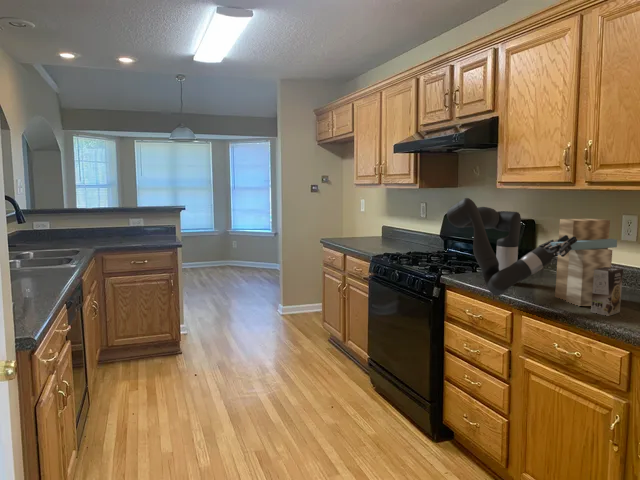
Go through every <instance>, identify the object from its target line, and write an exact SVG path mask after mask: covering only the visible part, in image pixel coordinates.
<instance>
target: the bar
mask: <svg viewBox="0 0 640 480" xmlns="http://www.w3.org/2000/svg"><path fill="white" fill-rule="evenodd" d="M564 242H565V241H564ZM558 243H563V242H551V246H554V245H557V244H558ZM563 246H564V245H563ZM558 247H559V246H558ZM617 247H618V239H616V238H609V239H597V240H581V241H577V242H575V243H574V244H572V245H571V248H572V249H571V250H583V249H599V248H608V249H611V248H617ZM559 248H560V247H559Z"/></svg>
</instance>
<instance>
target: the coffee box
mask: <svg viewBox="0 0 640 480" xmlns="http://www.w3.org/2000/svg"><path fill="white" fill-rule="evenodd" d="M623 276H624V269H623V268H617V267H611V268H609V267H603V268H598V269H594V279H593V291H592V304H591V307H590V313H592V314H596V313H597V315H601V316H605V315H606V317H609V316H612V315H615V314H618V313H619V314H620V312H621V302H622V301H621V300H622V289H623V287H622V286H623Z"/></svg>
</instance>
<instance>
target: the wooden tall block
mask: <svg viewBox="0 0 640 480" xmlns="http://www.w3.org/2000/svg"><path fill="white" fill-rule="evenodd" d="M610 226H611V220H610V219H602V218H601V219H600V218H560V219H559V228H558V229H559V231H558V239H560V238H561V237H563V236H564V235H567V236H568V238H569V239H570V238H571V237H573V236H574V237H576V239H577V241H581V240H597V239H610ZM605 249H609V248H605ZM568 265H569V252H568V253H567V254H566V255H565V256H564V257H561V255H558V256H557V262H556V275H555V276H556V277H555V278H556V279H555V291H554V298H557V299H559V298H560V299H559V300H562V299H563V301H565V300H566V295H567V280H568Z"/></svg>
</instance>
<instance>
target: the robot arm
mask: <svg viewBox="0 0 640 480" xmlns="http://www.w3.org/2000/svg"><path fill="white" fill-rule="evenodd" d="M446 211H447V212H446V217H447V221H448V222H449V223H450V224H451V225H452V226H454V227H456V228H459V229H460V228H473V241H472V242H473V243H472V249H473V250H472V251H473V254H474V258H475V260H476V262H477V264H478V266H479V268H480V270H481V274H482V277H483V280H484V283H485V286H486V287H487V290H488V291H489V293H490V294H492V295H494V296H502V295H503V294H505V293H506V292H507V291H508V289H510V288H511V287H512V286H514V285H516V284H517V283H519V282H520V283H521V282H523V281H524V280H526V279H527V278H529V277H530V276H532V275H534V274H536V273H538V272H539V271H541V270H543V269H545V268H546V267H547V266H549V265H550V264H551V263H552V260H553V259H554V258H556V257H558V255H561V257H564V256H565V255H566V254H567V253H568V252H569V251H570V250H571V249H572V248H571V245H572V244H574V243H575V242H577V239H576V237H574V236H573V237H571V238H570V239H569V238H568V236H567V235H564V236H563V237H561V238H560V239H559V238H558V239H550V240H549V241H546V242H545V243H542V244H540V245H538V246H537V247H536V248H534V249H532V250H531V251H529V252H527V253H526V254H525V255H523V256H522V257H520V259H518V255H519V241H520V235H521V225H522V219H521V218H522V216H521V214H520V212H518V211H510V210H509V211H508V210H505V211H504V210H500V211H499V210H498V211H497V210H496V209H494V208H492V207H487V206H479V207H478V206H477V205H476V203H475V202H474V201H473V200H472V199H470V198H468V197H465V198H462V199H461V200H459V201H457V202H456V203H455V204H453V205H451V207H449V209H447V210H446ZM490 229H491V230H492V229H494V230H496V231H499V232H508V235H507V236H504V237H501V238H498V239H497V240H496V253H495V252H494V250H493V248H492V245H491V243H490V241H489V238H488V234H487V232H486V230H490ZM564 241H565V242H564ZM551 242H563V243H558V244H557V245H554V246H551ZM563 245H564V246H563ZM558 246H559V247H560V248H559V247H558Z"/></svg>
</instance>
